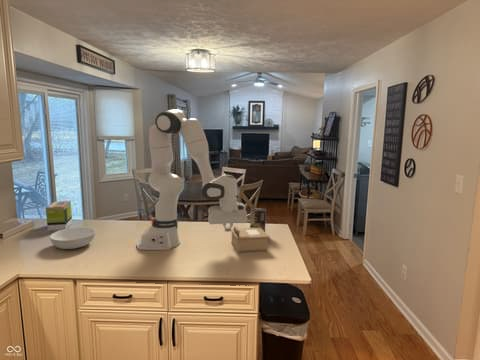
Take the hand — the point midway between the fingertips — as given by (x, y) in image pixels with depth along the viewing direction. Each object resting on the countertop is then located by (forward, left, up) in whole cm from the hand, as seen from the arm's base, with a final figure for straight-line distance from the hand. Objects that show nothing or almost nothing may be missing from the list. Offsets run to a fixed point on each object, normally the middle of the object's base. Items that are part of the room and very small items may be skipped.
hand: (227, 231), depth 164 cm
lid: (+12, 0, -2) cm, 12 cm away
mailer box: (+12, 0, -10) cm, 15 cm away
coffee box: (+22, +17, -10) cm, 29 cm away
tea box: (-94, +51, -10) cm, 108 cm away
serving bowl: (-78, +17, -10) cm, 81 cm away
